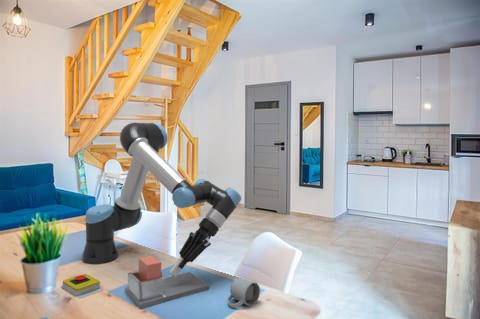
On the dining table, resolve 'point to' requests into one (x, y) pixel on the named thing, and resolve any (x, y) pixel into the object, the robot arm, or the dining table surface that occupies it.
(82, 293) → the emergency button
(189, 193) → the robot arm
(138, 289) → the grey box holder bracket
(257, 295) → the ceramic mug
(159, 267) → the pink box with dome
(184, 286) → the stand board
